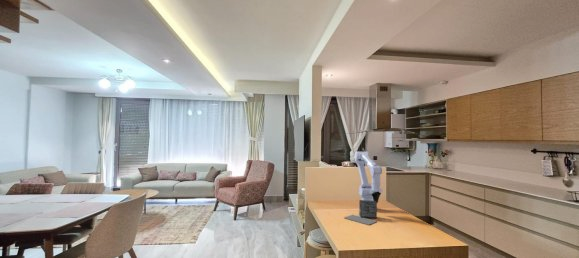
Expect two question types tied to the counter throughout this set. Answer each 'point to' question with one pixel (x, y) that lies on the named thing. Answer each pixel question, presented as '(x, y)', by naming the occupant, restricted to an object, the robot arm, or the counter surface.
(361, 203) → the small box
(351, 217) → the mat
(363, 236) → the counter surface
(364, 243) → the counter surface
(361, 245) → the counter surface
